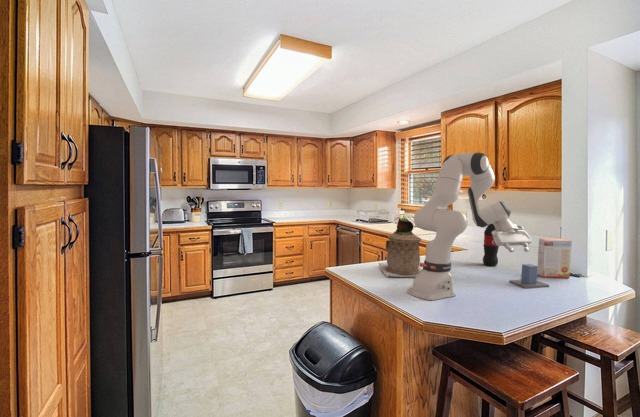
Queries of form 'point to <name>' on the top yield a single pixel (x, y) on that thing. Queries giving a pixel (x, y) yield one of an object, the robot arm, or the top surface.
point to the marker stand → (525, 285)
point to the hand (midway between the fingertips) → (519, 251)
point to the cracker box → (554, 258)
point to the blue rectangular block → (529, 274)
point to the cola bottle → (490, 247)
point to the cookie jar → (402, 252)
